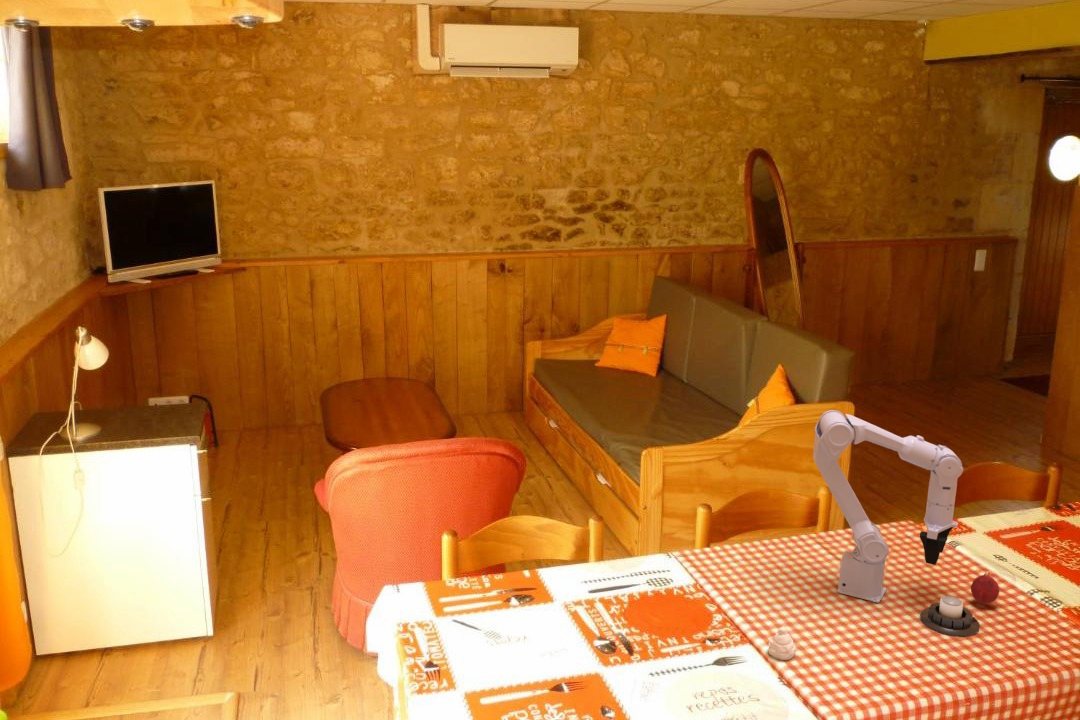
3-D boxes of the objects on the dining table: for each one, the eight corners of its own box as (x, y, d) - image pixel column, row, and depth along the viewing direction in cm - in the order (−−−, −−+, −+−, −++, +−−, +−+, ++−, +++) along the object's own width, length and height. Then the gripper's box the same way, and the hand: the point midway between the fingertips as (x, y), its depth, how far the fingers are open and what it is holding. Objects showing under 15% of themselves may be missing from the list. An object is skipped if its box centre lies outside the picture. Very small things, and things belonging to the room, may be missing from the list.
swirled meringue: (775, 618, 198) (801, 626, 195) (773, 644, 199) (798, 652, 196) (766, 629, 193) (792, 637, 190) (764, 656, 195) (790, 664, 192)
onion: (999, 612, 214) (1004, 579, 212) (972, 609, 215) (976, 576, 213) (993, 599, 219) (997, 567, 217) (966, 597, 220) (970, 565, 219)
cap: (935, 621, 208) (938, 601, 207) (940, 613, 212) (943, 593, 211) (958, 627, 206) (960, 607, 204) (962, 619, 209) (965, 599, 208)
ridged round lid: (914, 626, 207) (916, 615, 206) (925, 604, 217) (927, 593, 216) (974, 642, 201) (976, 631, 200) (983, 618, 211) (984, 607, 210)
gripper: (954, 516, 207) (947, 573, 210) (965, 495, 219) (958, 550, 222) (920, 509, 210) (913, 565, 213) (932, 488, 222) (926, 542, 225)
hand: (934, 557), depth 218 cm, fingers open, 7 cm apart
